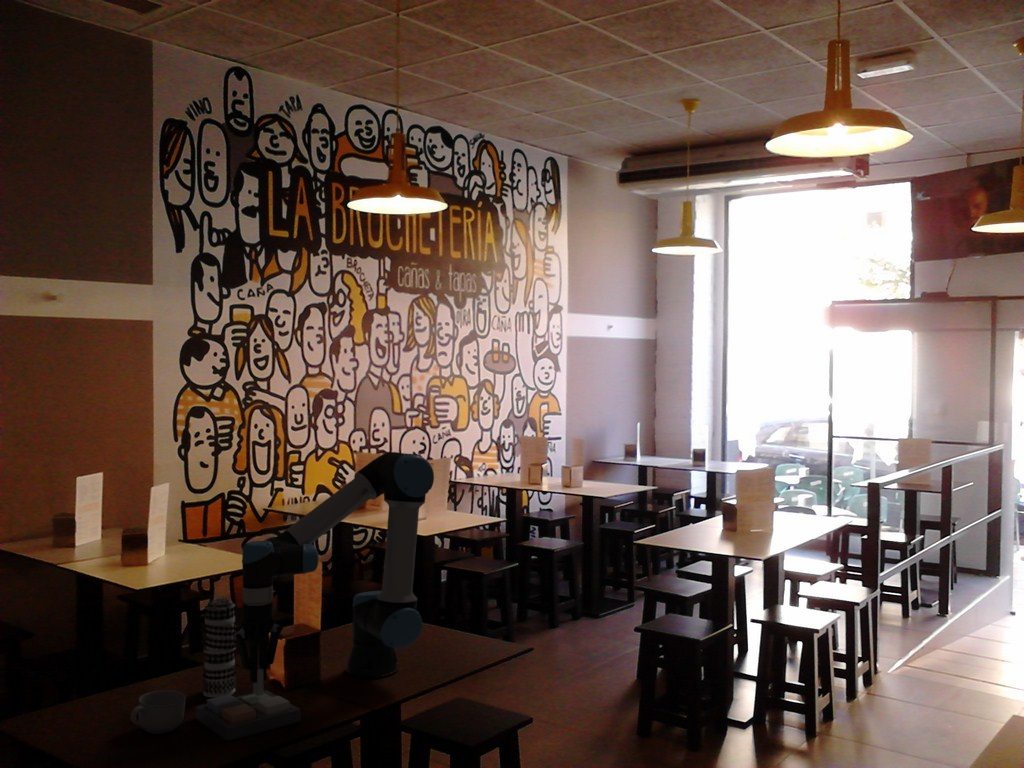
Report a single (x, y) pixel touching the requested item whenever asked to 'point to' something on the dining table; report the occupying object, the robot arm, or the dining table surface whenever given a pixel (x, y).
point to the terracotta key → (238, 714)
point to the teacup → (159, 711)
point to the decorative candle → (219, 648)
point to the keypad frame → (248, 726)
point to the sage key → (253, 699)
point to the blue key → (221, 703)
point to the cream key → (272, 705)
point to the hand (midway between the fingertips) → (258, 693)
